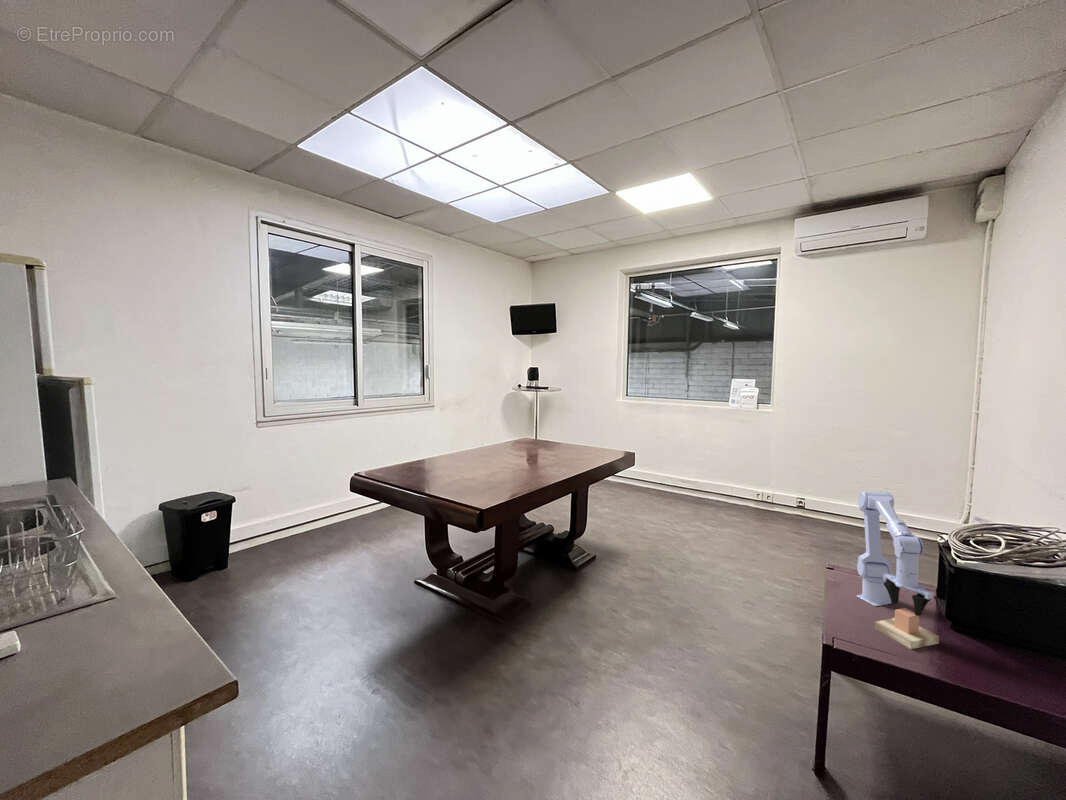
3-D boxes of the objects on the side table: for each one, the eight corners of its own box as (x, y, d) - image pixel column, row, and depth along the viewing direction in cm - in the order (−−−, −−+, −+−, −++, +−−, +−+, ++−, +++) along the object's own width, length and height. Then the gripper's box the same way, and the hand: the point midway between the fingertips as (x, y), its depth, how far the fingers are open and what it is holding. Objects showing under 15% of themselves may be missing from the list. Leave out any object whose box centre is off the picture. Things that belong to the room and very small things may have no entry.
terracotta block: (904, 624, 152) (904, 607, 151) (918, 631, 147) (919, 614, 147) (894, 626, 151) (894, 609, 150) (908, 633, 146) (908, 616, 146)
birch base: (901, 624, 156) (901, 616, 156) (938, 644, 145) (939, 636, 145) (874, 629, 154) (874, 621, 154) (910, 650, 142) (910, 642, 142)
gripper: (876, 563, 154) (876, 599, 155) (921, 582, 140) (920, 622, 141) (892, 560, 156) (891, 597, 157) (937, 579, 142) (936, 619, 142)
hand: (906, 608), depth 149 cm, fingers open, 7 cm apart
